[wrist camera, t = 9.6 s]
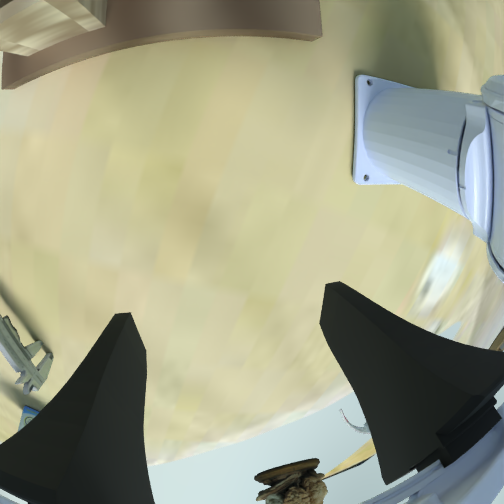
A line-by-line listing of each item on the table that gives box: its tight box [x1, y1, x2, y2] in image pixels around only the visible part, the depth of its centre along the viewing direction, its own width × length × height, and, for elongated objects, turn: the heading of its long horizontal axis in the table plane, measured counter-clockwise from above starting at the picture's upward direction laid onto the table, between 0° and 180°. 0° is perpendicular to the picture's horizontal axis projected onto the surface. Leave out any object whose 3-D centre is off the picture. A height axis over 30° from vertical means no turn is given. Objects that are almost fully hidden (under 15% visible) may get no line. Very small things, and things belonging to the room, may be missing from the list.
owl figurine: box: [254, 458, 328, 504], centre depth 44 cm, size 18×12×17 cm, turn 98°
